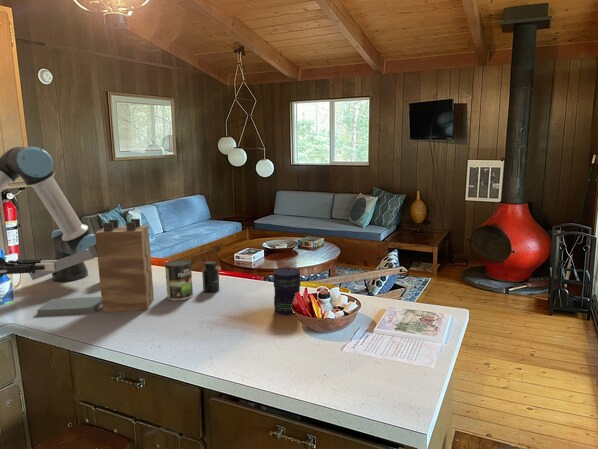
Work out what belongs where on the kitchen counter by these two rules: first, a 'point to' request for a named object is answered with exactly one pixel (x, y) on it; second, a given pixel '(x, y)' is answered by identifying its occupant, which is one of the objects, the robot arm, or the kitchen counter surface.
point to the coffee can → (179, 279)
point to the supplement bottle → (210, 277)
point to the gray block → (70, 306)
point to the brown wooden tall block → (124, 266)
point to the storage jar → (285, 289)
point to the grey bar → (68, 261)
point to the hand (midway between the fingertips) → (56, 265)
